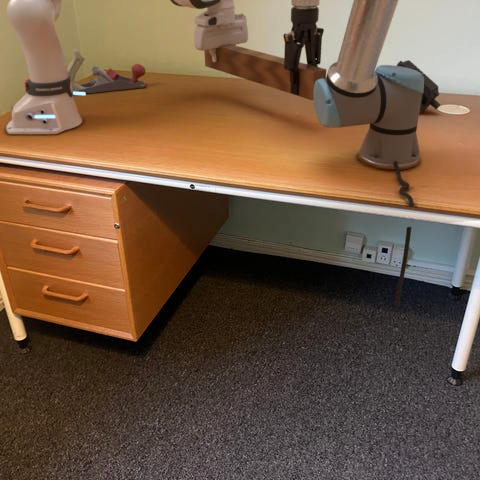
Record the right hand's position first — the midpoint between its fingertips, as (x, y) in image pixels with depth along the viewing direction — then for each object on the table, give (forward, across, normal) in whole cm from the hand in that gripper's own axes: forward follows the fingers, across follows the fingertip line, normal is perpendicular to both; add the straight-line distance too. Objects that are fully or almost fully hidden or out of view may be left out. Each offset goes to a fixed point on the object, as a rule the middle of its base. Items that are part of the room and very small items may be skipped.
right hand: (301, 91), depth 156 cm
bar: (+1, 0, -19) cm, 19 cm away
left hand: (-2, 0, -38) cm, 38 cm away
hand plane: (+10, +27, -76) cm, 81 cm away
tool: (+10, -36, +12) cm, 40 cm away
